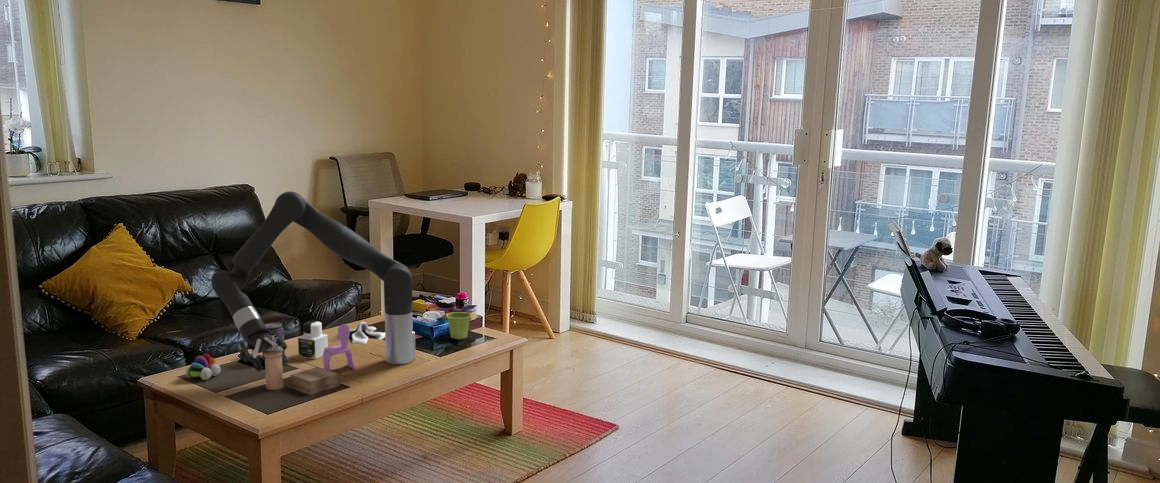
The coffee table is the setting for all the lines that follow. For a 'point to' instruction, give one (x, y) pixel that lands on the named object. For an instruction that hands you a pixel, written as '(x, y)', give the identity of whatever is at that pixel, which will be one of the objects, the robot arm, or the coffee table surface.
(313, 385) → the base slab
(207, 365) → the colorful domed toy
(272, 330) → the beverage can
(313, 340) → the medicine bottle
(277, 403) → the coffee table surface
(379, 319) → the coffee table surface
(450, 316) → the plant pot
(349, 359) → the toy chair
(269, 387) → the canister
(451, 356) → the coffee table surface
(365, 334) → the cloth
